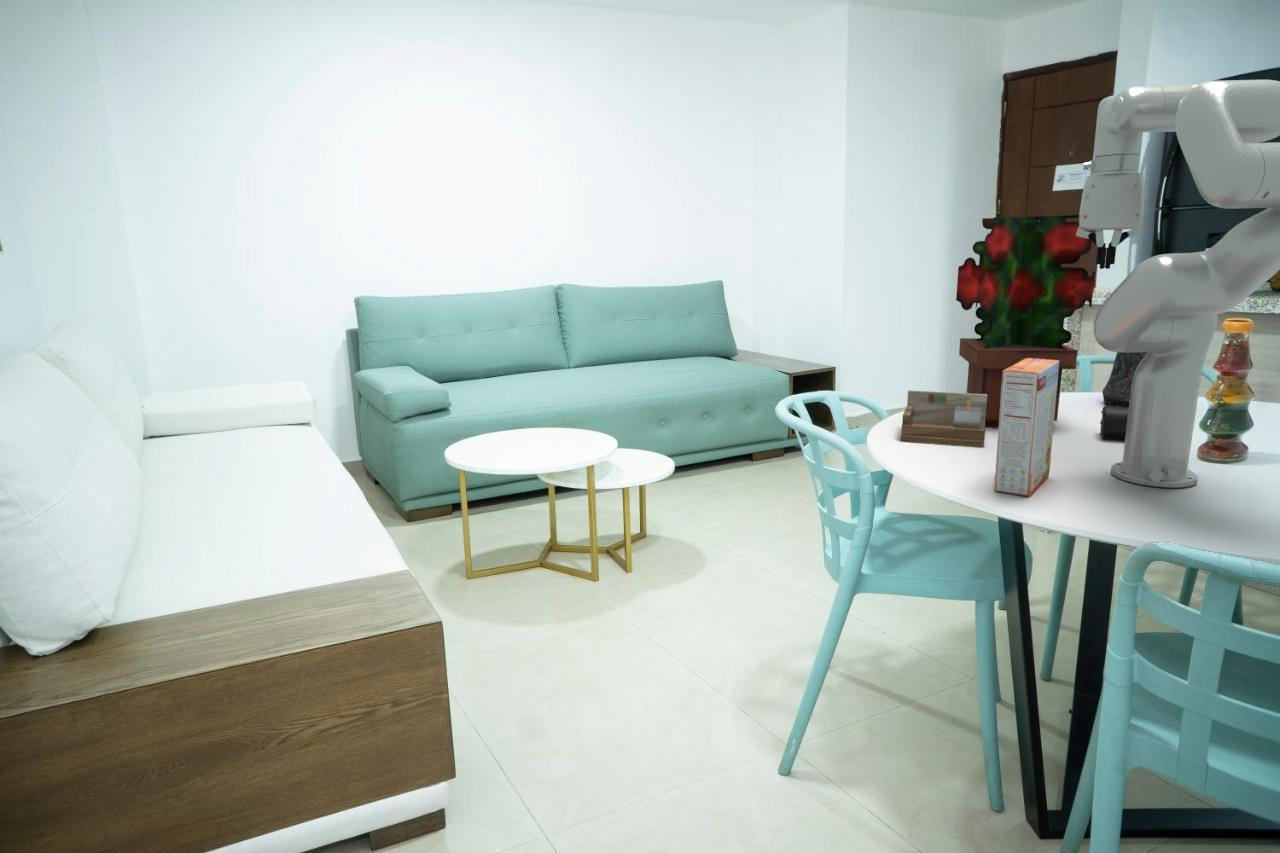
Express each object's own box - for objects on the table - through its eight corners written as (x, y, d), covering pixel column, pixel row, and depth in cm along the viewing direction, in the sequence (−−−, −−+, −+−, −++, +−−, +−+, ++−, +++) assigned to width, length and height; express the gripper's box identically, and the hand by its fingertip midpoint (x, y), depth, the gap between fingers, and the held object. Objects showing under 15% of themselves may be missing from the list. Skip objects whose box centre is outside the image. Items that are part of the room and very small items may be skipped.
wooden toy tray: (983, 447, 157) (987, 406, 155) (900, 441, 164) (902, 402, 162) (984, 431, 170) (987, 393, 168) (906, 426, 176) (908, 389, 174)
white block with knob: (979, 435, 161) (981, 404, 160) (953, 433, 163) (955, 403, 162) (979, 430, 166) (981, 400, 164) (954, 428, 168) (956, 398, 166)
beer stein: (1160, 399, 196) (1174, 298, 190) (1203, 417, 178) (1219, 306, 172) (1090, 399, 199) (1101, 299, 193) (1124, 416, 180) (1138, 306, 174)
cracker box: (1013, 471, 142) (1024, 356, 137) (1050, 477, 138) (1062, 359, 133) (990, 491, 131) (1000, 368, 126) (1029, 498, 127) (1041, 371, 123)
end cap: (1101, 441, 160) (1105, 409, 158) (1097, 433, 166) (1100, 402, 165) (1159, 445, 156) (1163, 412, 154) (1152, 437, 162) (1156, 405, 161)
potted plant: (1077, 434, 166) (1101, 214, 155) (966, 431, 170) (982, 217, 160) (1046, 411, 187) (1066, 216, 176) (948, 409, 191) (961, 219, 181)
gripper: (1069, 168, 144) (1059, 269, 149) (1166, 162, 138) (1153, 268, 142) (1069, 171, 151) (1060, 268, 155) (1161, 165, 144) (1149, 267, 148)
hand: (1104, 268), depth 148 cm, fingers closed
